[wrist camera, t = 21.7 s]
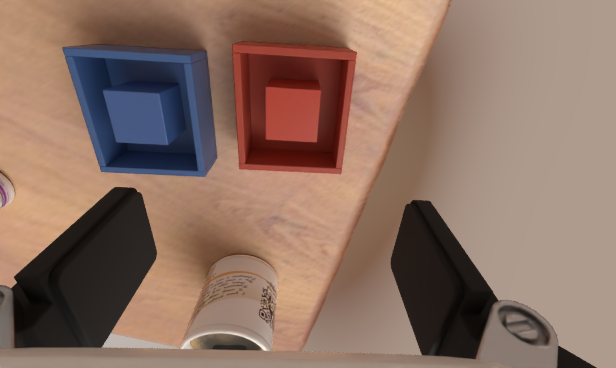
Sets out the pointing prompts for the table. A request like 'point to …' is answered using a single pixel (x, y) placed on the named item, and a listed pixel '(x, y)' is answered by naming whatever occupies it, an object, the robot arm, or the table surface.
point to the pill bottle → (5, 191)
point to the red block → (292, 110)
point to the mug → (235, 307)
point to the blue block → (145, 112)
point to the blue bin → (150, 68)
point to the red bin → (300, 66)
